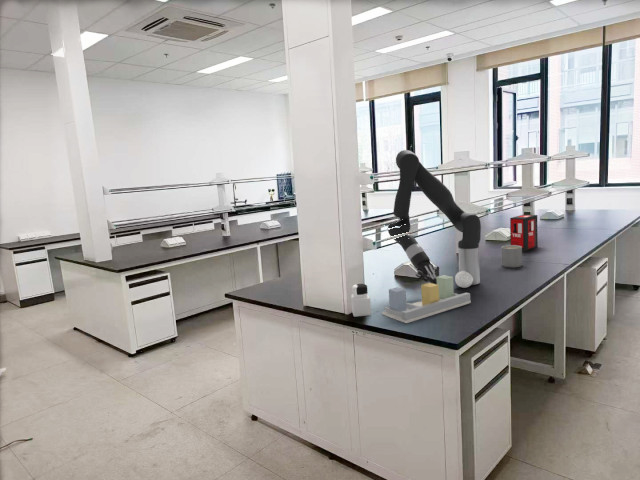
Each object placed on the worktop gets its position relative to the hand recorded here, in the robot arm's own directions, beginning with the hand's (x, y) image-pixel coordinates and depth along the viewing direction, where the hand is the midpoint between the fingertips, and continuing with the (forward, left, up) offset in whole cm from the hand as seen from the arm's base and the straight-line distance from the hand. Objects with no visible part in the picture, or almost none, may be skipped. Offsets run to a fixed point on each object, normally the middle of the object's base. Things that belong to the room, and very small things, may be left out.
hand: (438, 287), depth 195 cm
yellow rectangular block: (+15, -3, -4) cm, 16 cm away
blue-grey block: (+21, -16, -4) cm, 27 cm away
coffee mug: (-61, +39, -5) cm, 73 cm away
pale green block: (+3, +3, -4) cm, 5 cm away
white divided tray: (+14, -5, -5) cm, 15 cm away
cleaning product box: (-105, +52, -5) cm, 118 cm away
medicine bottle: (+20, -31, -5) cm, 37 cm away
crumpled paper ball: (-17, +11, -5) cm, 21 cm away
